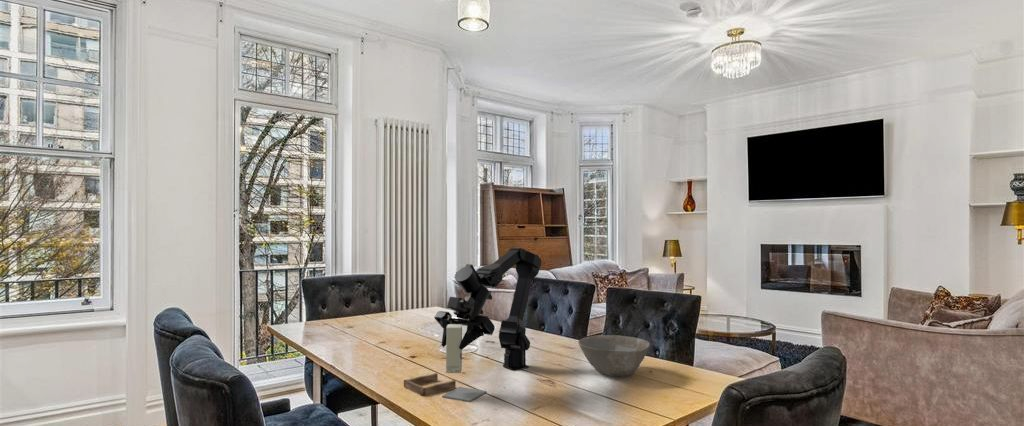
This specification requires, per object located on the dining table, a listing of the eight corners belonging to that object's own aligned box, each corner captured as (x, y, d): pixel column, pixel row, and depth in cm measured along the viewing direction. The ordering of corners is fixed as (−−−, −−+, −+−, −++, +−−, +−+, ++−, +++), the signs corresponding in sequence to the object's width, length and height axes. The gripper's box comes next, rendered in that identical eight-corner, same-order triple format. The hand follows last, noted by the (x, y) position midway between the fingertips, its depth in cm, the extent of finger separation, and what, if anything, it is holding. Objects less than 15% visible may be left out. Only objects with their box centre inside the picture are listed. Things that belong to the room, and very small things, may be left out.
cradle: (435, 379, 161) (435, 373, 161) (455, 387, 153) (455, 381, 153) (403, 386, 154) (403, 380, 154) (422, 396, 146) (422, 388, 146)
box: (461, 373, 146) (462, 327, 146) (445, 373, 146) (446, 327, 146) (461, 368, 151) (462, 323, 151) (446, 368, 151) (447, 323, 151)
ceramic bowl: (622, 389, 150) (622, 354, 150) (564, 372, 167) (563, 341, 168) (665, 374, 165) (665, 342, 165) (607, 360, 182) (607, 331, 182)
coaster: (459, 388, 153) (459, 386, 153) (486, 392, 148) (486, 390, 148) (442, 397, 145) (442, 395, 145) (469, 402, 140) (469, 400, 140)
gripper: (437, 284, 157) (412, 327, 148) (488, 287, 147) (464, 334, 137) (455, 306, 163) (431, 349, 154) (504, 311, 153) (482, 357, 144)
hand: (451, 347), depth 147 cm, fingers closed on box, 6 cm apart
